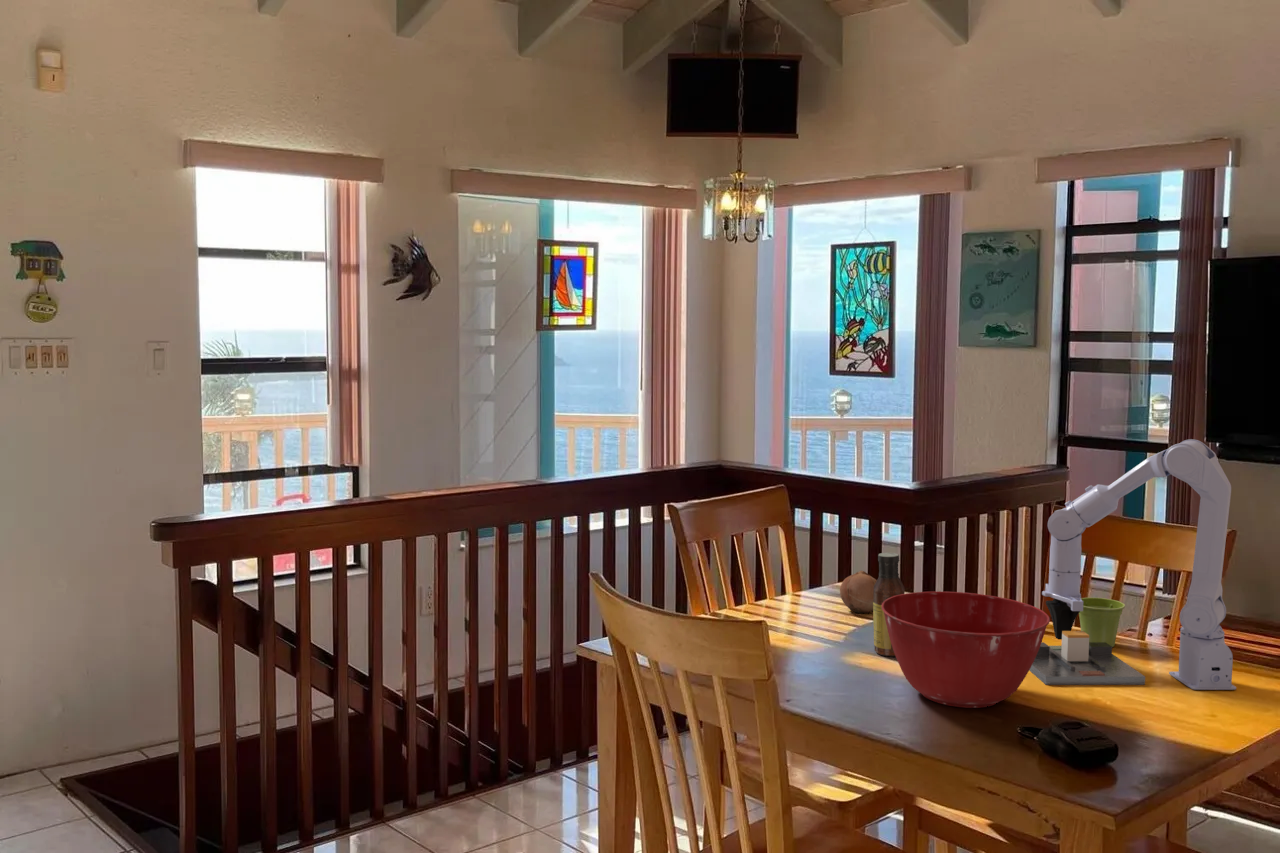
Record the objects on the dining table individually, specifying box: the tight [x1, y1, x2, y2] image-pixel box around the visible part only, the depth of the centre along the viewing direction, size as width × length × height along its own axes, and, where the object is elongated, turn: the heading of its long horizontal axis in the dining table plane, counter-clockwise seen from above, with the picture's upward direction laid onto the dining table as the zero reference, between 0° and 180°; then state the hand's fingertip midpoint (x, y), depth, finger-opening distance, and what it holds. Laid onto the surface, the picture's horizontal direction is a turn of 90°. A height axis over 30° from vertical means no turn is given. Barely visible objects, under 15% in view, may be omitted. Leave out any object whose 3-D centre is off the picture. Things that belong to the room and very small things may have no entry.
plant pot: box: [1078, 597, 1126, 648], centre depth 237 cm, size 9×9×9 cm
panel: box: [1029, 641, 1146, 686], centre depth 221 cm, size 20×18×4 cm
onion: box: [839, 570, 877, 615], centre depth 263 cm, size 10×9×10 cm
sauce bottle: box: [872, 552, 906, 657], centre depth 230 cm, size 7×6×20 cm
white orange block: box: [1061, 630, 1089, 661], centre depth 221 cm, size 3×4×5 cm
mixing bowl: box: [881, 591, 1051, 709], centre depth 204 cm, size 28×28×15 cm
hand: (1061, 638), depth 227 cm, fingers closed
